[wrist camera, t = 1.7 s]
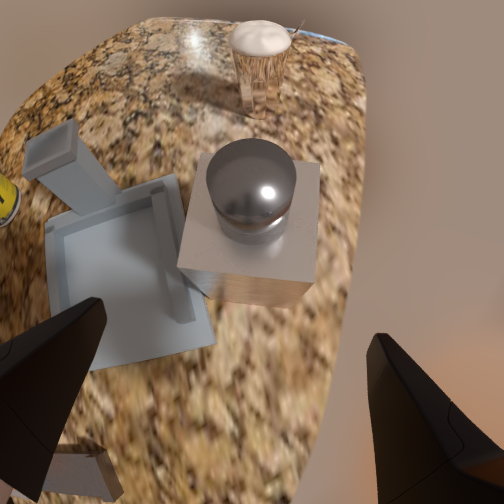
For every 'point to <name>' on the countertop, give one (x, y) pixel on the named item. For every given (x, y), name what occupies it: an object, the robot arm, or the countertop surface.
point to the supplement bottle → (8, 200)
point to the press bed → (117, 253)
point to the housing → (252, 225)
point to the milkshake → (260, 64)
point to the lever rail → (83, 475)
